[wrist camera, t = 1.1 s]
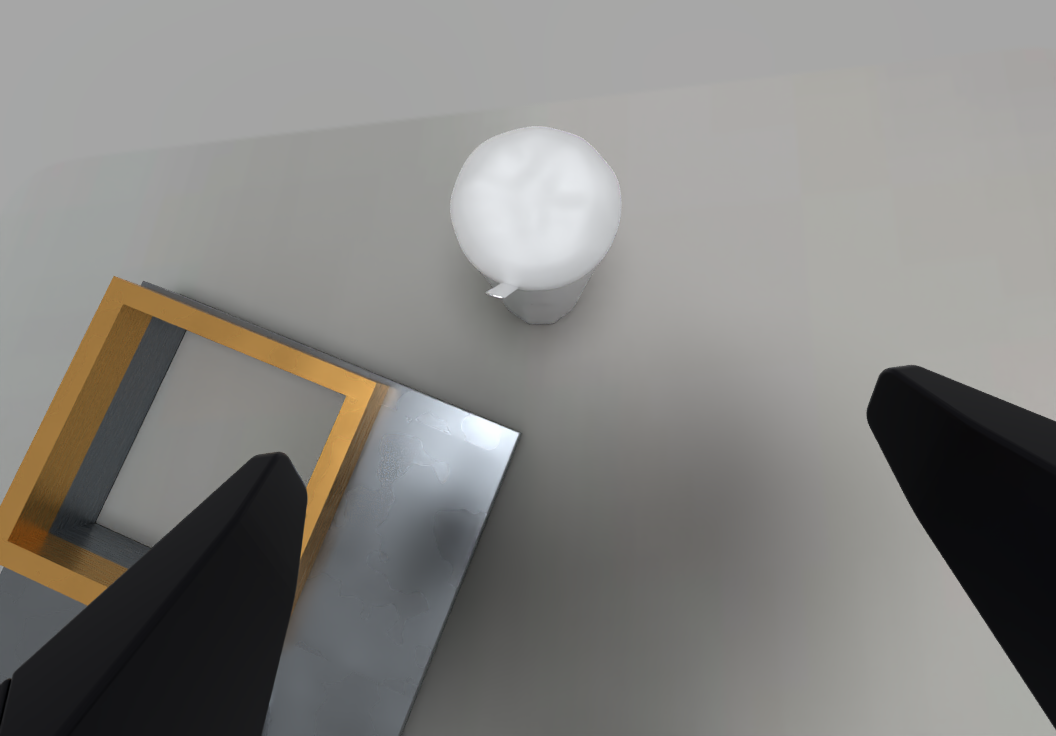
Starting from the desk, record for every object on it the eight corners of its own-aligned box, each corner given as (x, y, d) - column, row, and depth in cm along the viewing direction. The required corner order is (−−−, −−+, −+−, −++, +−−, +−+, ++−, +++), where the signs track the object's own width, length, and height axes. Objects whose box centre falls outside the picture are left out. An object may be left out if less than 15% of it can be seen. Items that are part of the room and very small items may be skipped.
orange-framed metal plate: (342, 881, 20) (298, 978, 16) (-18, 703, 21) (-131, 758, 17) (521, 432, 21) (516, 433, 18) (178, 293, 23) (111, 268, 19)
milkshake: (466, 341, 22) (398, 268, 12) (505, 223, 22) (470, 59, 12) (571, 373, 21) (590, 325, 12) (607, 252, 22) (655, 107, 12)
